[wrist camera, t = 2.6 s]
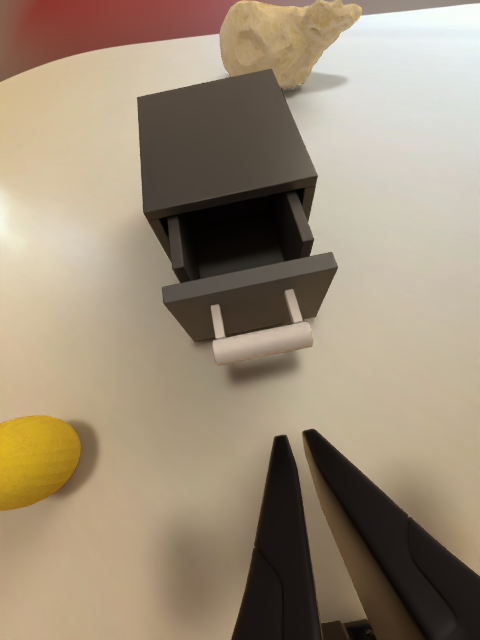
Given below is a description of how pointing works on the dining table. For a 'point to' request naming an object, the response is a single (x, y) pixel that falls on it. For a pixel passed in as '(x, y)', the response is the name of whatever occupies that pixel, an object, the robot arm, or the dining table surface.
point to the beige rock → (282, 37)
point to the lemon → (35, 459)
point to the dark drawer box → (219, 148)
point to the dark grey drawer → (247, 276)
